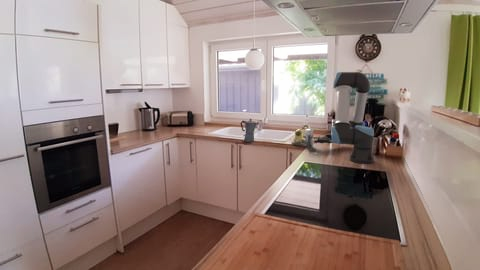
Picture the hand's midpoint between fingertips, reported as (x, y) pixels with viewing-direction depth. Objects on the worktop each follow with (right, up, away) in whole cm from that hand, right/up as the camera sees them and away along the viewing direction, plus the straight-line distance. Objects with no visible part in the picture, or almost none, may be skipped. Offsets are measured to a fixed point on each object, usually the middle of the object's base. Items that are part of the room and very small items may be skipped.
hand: (311, 141), depth 206 cm
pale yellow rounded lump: (-3, -2, +28) cm, 28 cm away
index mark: (+3, -9, -3) cm, 10 cm away
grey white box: (+1, -5, +10) cm, 12 cm away
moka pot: (-45, -1, +37) cm, 58 cm away
